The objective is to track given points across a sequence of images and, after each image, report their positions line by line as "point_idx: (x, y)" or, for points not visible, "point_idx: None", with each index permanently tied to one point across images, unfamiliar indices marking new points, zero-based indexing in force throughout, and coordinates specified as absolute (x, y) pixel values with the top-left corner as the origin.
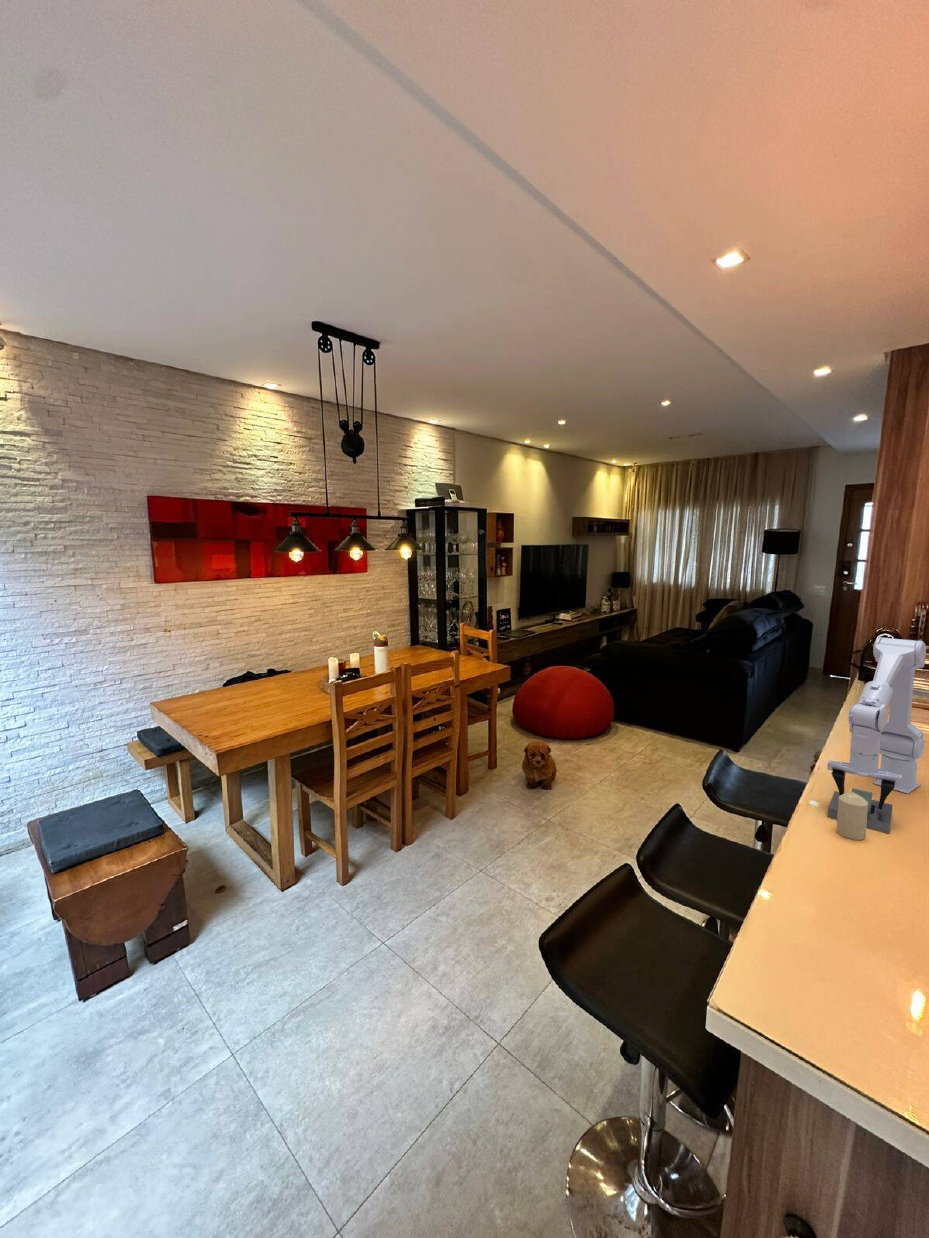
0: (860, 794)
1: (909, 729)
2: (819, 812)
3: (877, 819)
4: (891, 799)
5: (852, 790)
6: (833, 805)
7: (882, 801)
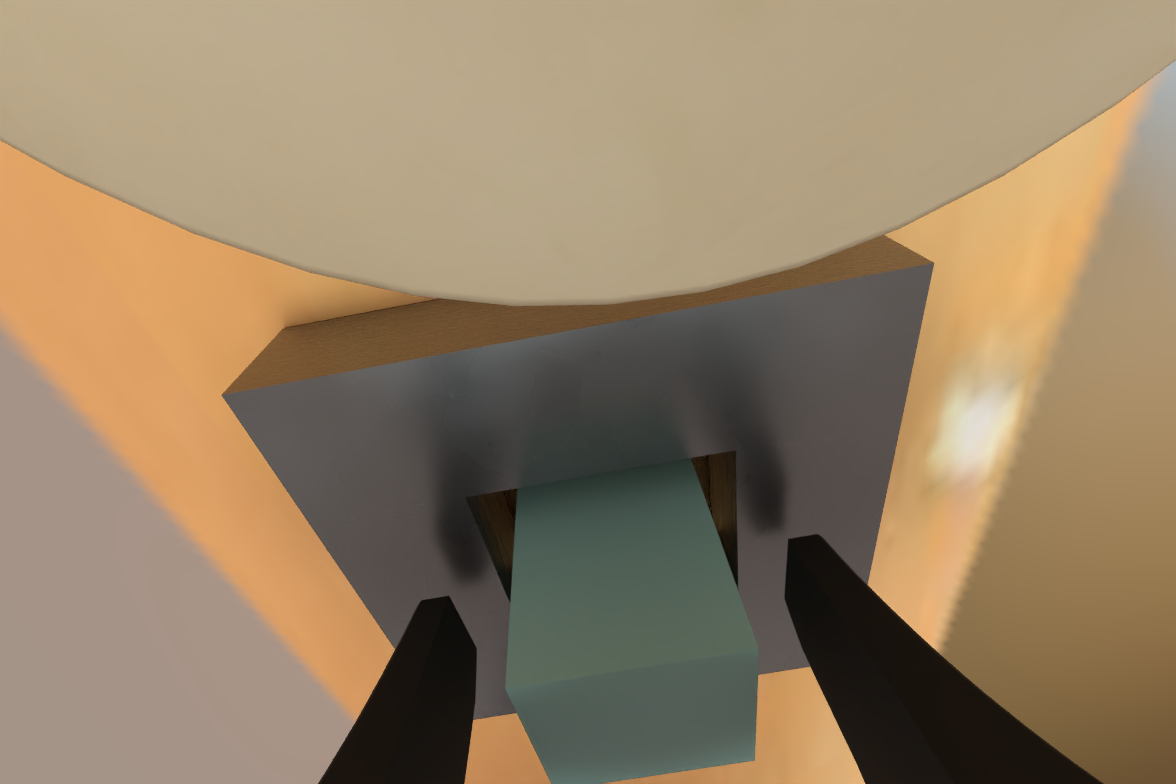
0: (644, 698)
1: None
2: (937, 274)
3: (374, 401)
4: (534, 762)
5: (747, 722)
6: (865, 388)
7: (377, 706)
